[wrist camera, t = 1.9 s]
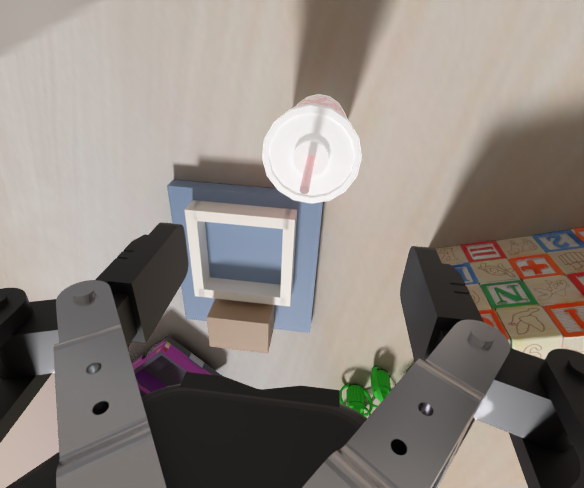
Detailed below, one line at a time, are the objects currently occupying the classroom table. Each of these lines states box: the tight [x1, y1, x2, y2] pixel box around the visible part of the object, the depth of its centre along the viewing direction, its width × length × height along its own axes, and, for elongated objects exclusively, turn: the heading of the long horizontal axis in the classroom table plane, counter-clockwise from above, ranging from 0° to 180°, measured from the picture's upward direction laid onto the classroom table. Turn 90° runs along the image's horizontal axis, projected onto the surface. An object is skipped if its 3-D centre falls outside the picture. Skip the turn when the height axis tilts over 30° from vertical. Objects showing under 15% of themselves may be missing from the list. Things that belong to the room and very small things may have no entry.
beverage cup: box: [262, 94, 362, 204], centre depth 24 cm, size 6×6×14 cm
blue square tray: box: [167, 180, 323, 353], centre depth 35 cm, size 16×14×6 cm
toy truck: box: [132, 336, 222, 397], centre depth 45 cm, size 11×16×10 cm
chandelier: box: [340, 366, 391, 417], centre depth 44 cm, size 15×15×7 cm
